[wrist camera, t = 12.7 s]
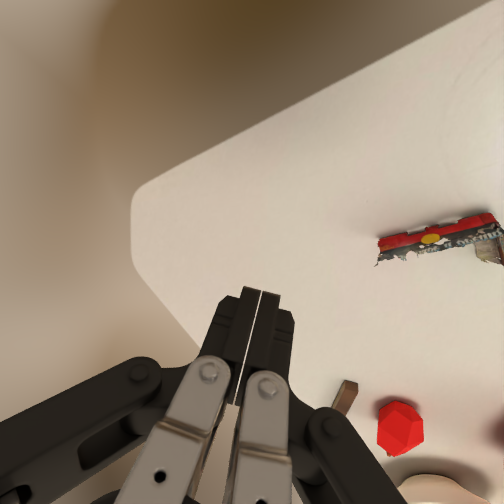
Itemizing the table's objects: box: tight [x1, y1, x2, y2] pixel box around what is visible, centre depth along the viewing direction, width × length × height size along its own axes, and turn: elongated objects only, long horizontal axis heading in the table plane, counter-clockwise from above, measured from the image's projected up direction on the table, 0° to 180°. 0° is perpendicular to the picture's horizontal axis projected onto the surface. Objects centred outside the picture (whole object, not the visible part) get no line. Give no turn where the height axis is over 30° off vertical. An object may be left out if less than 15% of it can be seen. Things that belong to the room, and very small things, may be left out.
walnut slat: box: [332, 380, 358, 416], centre depth 56 cm, size 10×2×2 cm, turn 172°
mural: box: [374, 213, 504, 267], centre depth 37 cm, size 12×7×6 cm, turn 115°
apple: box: [377, 400, 424, 457], centre depth 53 cm, size 7×7×8 cm
